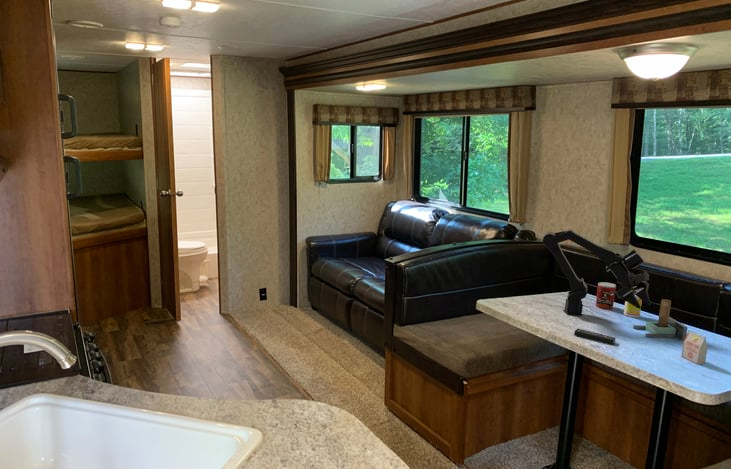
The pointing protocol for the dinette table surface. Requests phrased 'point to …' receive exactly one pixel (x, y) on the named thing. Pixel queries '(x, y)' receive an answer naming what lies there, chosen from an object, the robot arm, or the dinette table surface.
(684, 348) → the gable top carton
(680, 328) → the rail and backstop frame
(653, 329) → the sliding socket block
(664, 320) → the walnut dowel
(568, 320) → the dinette table surface
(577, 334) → the multiport hub
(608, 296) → the canned food
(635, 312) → the supplement bottle
